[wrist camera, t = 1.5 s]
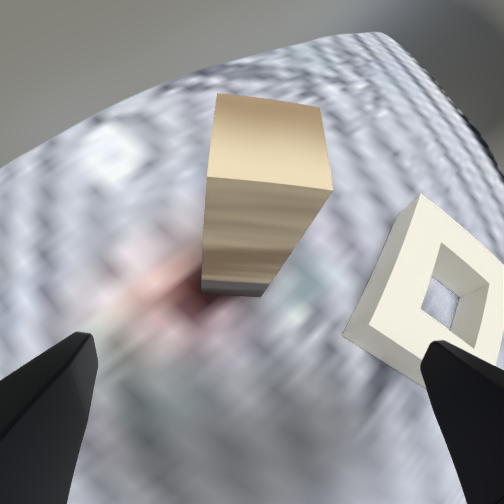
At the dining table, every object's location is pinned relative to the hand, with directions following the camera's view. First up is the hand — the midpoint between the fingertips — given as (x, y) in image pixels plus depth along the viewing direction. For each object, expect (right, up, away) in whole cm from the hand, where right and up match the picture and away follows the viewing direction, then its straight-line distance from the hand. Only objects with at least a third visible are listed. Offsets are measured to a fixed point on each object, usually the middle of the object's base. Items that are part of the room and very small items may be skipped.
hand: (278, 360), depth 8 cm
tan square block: (-2, +2, +15) cm, 15 cm away
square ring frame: (+14, -2, +16) cm, 21 cm away
